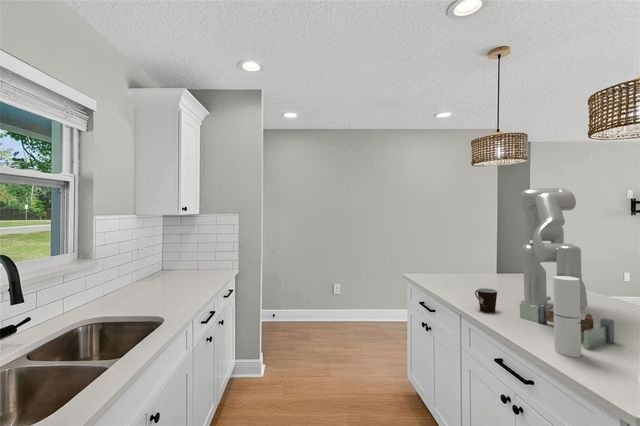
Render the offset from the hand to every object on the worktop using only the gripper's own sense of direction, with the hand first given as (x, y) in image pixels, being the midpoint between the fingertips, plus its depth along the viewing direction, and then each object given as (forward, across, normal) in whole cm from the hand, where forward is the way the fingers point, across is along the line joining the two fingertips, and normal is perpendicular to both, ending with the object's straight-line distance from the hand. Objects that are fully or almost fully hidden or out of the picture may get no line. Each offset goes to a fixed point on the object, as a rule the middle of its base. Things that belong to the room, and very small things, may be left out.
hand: (570, 326), depth 123 cm
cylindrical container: (+4, -13, -13) cm, 19 cm away
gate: (+3, +2, +3) cm, 5 cm away
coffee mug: (+4, -11, +36) cm, 37 cm away
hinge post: (+4, -1, +18) cm, 18 cm away
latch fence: (+4, +2, -9) cm, 10 cm away
